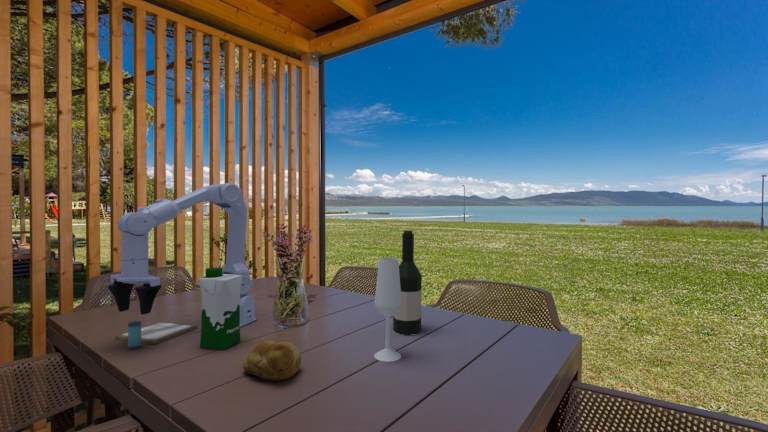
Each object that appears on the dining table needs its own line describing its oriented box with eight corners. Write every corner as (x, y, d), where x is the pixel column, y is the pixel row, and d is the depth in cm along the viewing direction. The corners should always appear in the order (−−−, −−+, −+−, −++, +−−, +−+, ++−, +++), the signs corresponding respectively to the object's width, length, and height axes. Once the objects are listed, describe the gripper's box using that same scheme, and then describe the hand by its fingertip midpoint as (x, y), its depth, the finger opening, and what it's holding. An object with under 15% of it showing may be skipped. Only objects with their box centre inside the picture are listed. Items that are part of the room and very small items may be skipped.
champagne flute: (405, 354, 89) (407, 258, 89) (392, 363, 84) (393, 261, 83) (382, 348, 93) (383, 256, 93) (368, 357, 87) (369, 259, 87)
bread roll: (232, 377, 76) (232, 340, 76) (263, 360, 85) (263, 326, 85) (282, 389, 71) (283, 349, 71) (309, 369, 80) (309, 333, 80)
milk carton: (216, 337, 100) (217, 265, 100) (245, 340, 98) (246, 267, 98) (194, 349, 91) (194, 270, 91) (225, 352, 90) (226, 272, 89)
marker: (144, 346, 93) (144, 321, 93) (133, 350, 90) (133, 324, 90) (135, 345, 94) (135, 320, 94) (124, 349, 91) (125, 323, 91)
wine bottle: (420, 327, 111) (422, 230, 111) (421, 336, 103) (422, 231, 102) (394, 325, 112) (395, 229, 112) (392, 334, 104) (393, 231, 103)
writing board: (196, 328, 107) (196, 325, 107) (154, 344, 94) (154, 341, 94) (161, 323, 111) (161, 320, 111) (115, 338, 98) (115, 335, 98)
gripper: (98, 259, 90) (97, 313, 90) (141, 262, 86) (141, 319, 86) (125, 256, 97) (125, 306, 97) (167, 259, 92) (166, 311, 93)
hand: (134, 312), depth 92 cm, fingers open, 7 cm apart
